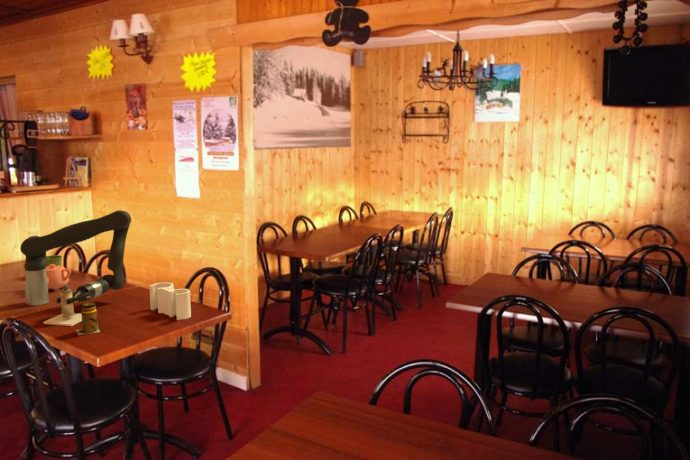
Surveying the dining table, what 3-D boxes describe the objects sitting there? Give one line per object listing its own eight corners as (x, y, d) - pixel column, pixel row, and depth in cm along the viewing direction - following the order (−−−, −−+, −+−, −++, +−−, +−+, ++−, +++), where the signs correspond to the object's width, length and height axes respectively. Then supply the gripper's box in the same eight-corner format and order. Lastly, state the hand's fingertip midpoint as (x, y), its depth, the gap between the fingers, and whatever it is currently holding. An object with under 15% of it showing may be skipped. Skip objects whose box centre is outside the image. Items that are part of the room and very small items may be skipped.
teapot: (43, 295, 294) (41, 269, 292) (31, 288, 305) (29, 264, 303) (75, 289, 306) (73, 264, 304) (62, 283, 317) (60, 259, 315)
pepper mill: (59, 317, 254) (57, 286, 251) (67, 313, 259) (64, 283, 256) (69, 317, 253) (66, 287, 250) (76, 314, 258) (73, 284, 255)
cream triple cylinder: (196, 316, 263) (195, 291, 261) (177, 321, 256) (176, 295, 254) (167, 305, 279) (166, 281, 277) (149, 309, 272) (147, 284, 270)
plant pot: (67, 273, 339) (66, 255, 337) (58, 278, 327) (56, 259, 325) (47, 273, 338) (46, 254, 336) (37, 278, 327) (35, 259, 325)
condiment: (100, 332, 241) (98, 304, 239) (78, 335, 237) (76, 308, 235) (97, 327, 247) (95, 300, 245) (75, 330, 243) (73, 303, 241)
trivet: (43, 323, 251) (43, 322, 250) (64, 313, 264) (64, 312, 264) (71, 326, 248) (71, 324, 248) (91, 316, 261) (91, 314, 261)
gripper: (76, 282, 269) (48, 292, 253) (101, 284, 265) (74, 294, 249) (77, 297, 271) (49, 308, 255) (102, 300, 267) (76, 311, 251)
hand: (62, 301), depth 252 cm, fingers closed on pepper mill, 4 cm apart
